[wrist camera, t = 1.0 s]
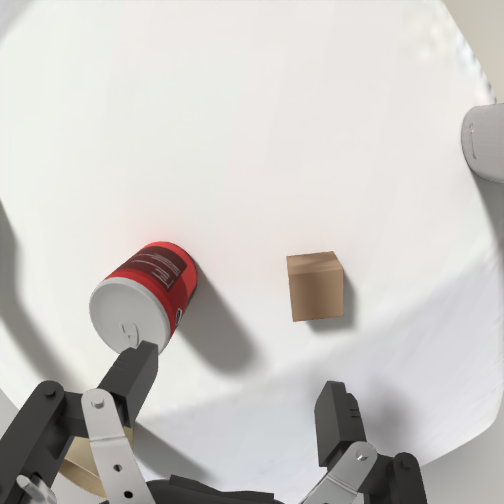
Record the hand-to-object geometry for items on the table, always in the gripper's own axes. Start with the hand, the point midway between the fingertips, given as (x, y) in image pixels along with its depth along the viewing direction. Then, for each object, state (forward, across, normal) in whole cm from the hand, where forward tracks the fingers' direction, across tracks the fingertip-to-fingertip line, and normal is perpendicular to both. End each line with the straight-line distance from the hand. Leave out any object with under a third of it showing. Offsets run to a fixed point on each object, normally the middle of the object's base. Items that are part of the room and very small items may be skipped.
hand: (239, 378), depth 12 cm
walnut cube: (+19, -6, +2) cm, 20 cm away
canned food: (+19, +10, +5) cm, 22 cm away
